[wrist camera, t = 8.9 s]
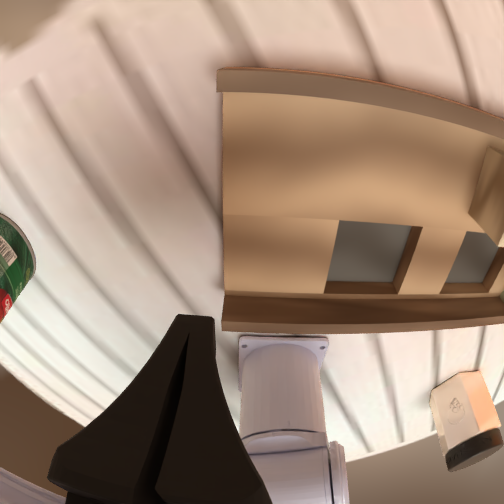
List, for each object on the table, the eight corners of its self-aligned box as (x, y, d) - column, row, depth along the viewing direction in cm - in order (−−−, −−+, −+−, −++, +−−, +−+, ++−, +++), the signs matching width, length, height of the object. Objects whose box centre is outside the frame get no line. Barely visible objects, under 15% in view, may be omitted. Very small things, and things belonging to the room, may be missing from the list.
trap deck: (494, 293, 24) (512, 322, 21) (226, 291, 24) (221, 330, 21) (554, 142, 15) (585, 162, 12) (226, 67, 15) (216, 70, 12)
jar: (471, 362, 31) (501, 441, 22) (486, 376, 34) (510, 443, 24) (417, 397, 36) (436, 474, 26) (438, 406, 38) (456, 473, 29)
